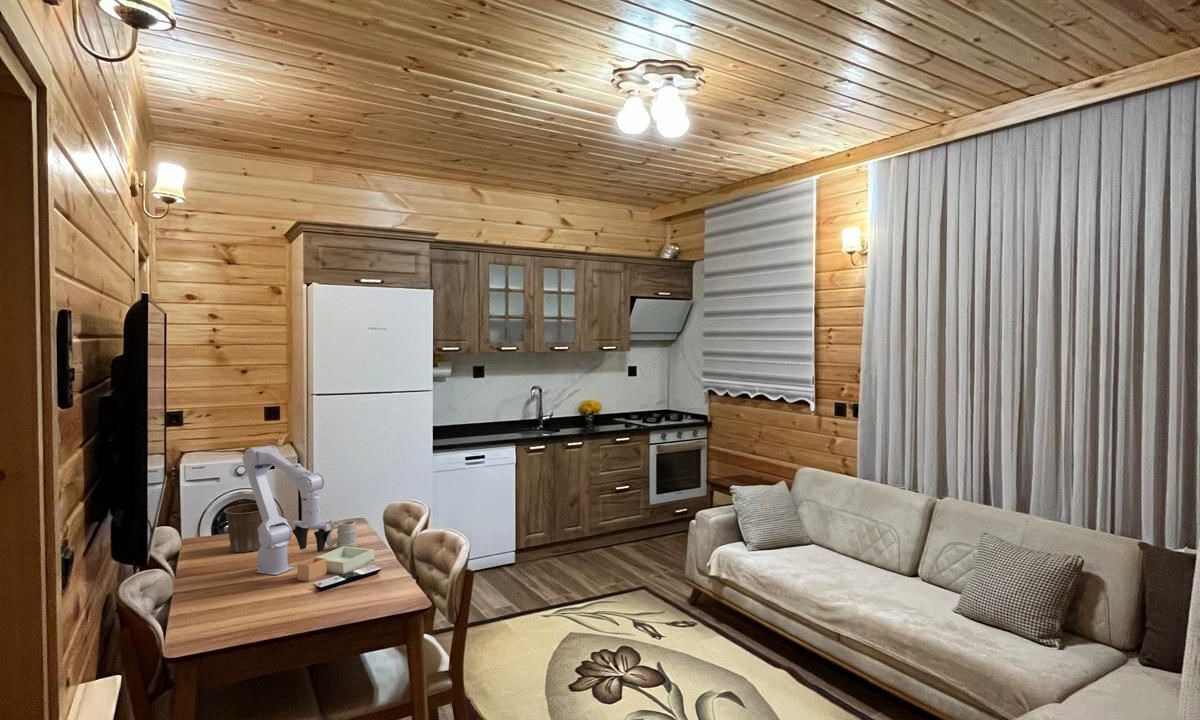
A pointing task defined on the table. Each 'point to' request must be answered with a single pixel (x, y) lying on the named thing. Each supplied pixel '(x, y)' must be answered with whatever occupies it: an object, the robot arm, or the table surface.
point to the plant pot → (244, 527)
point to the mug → (343, 534)
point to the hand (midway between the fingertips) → (311, 549)
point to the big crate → (347, 559)
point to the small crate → (311, 569)
